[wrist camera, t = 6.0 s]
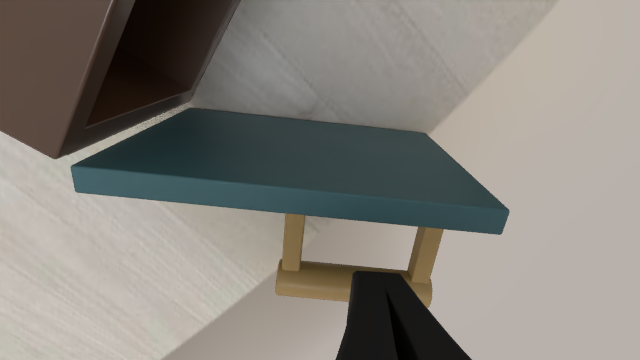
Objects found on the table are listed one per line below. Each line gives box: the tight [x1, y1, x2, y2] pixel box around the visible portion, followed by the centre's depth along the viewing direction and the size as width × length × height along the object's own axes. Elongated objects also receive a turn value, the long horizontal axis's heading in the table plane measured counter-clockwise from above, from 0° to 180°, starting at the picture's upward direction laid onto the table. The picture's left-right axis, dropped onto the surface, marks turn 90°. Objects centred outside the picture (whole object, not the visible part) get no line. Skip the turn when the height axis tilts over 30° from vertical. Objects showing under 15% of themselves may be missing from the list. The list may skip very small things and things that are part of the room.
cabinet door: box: [71, 108, 509, 308], centre depth 14 cm, size 6×12×8 cm, turn 84°
